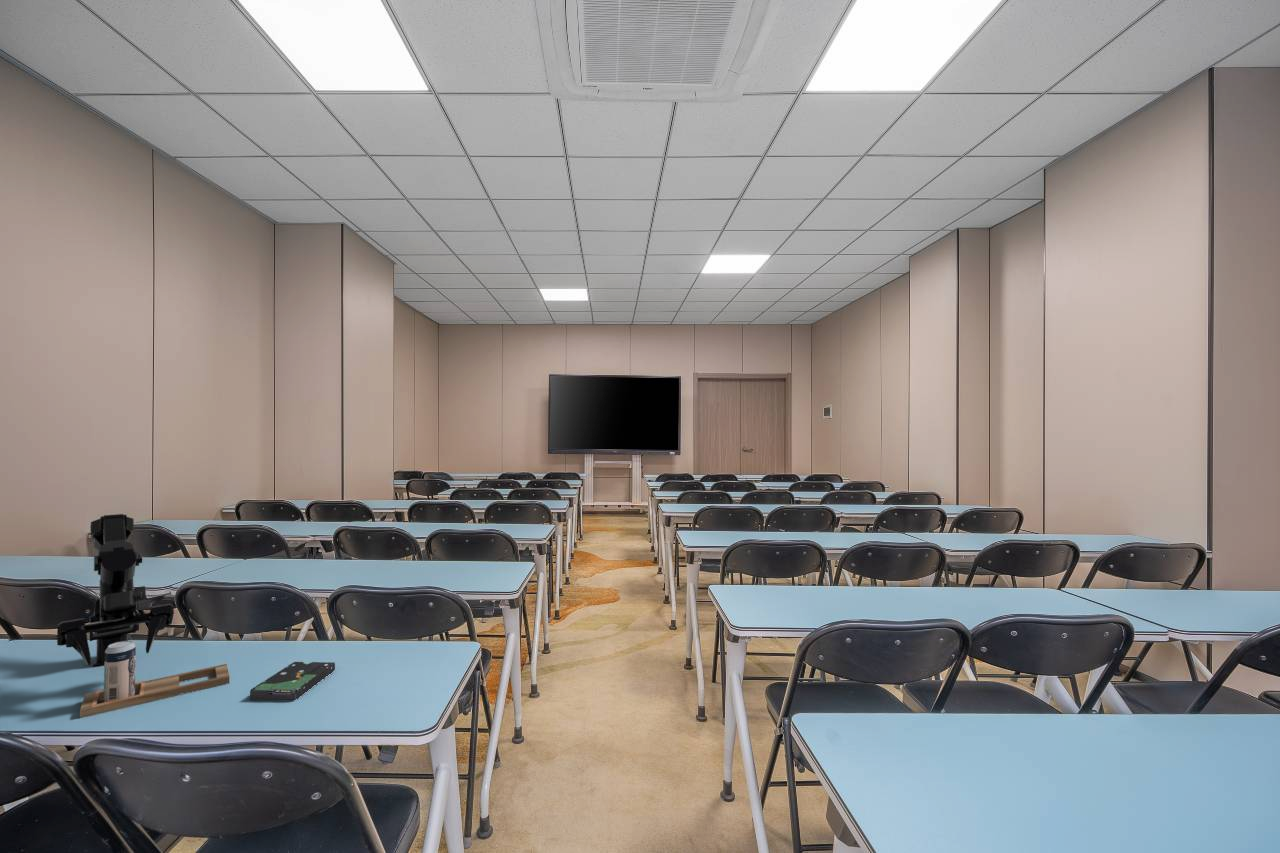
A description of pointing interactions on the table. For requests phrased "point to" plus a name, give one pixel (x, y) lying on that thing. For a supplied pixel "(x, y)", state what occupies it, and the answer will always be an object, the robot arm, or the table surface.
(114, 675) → the white cylinder
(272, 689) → the disk drive
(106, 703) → the wooden tray
